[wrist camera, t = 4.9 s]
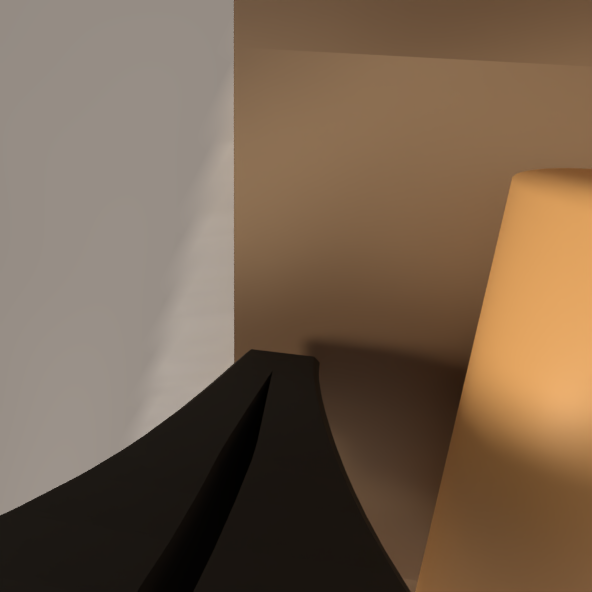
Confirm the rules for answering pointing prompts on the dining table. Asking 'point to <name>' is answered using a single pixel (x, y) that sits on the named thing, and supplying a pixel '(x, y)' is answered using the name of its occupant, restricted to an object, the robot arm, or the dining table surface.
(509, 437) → the roller
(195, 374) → the dining table surface
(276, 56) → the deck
